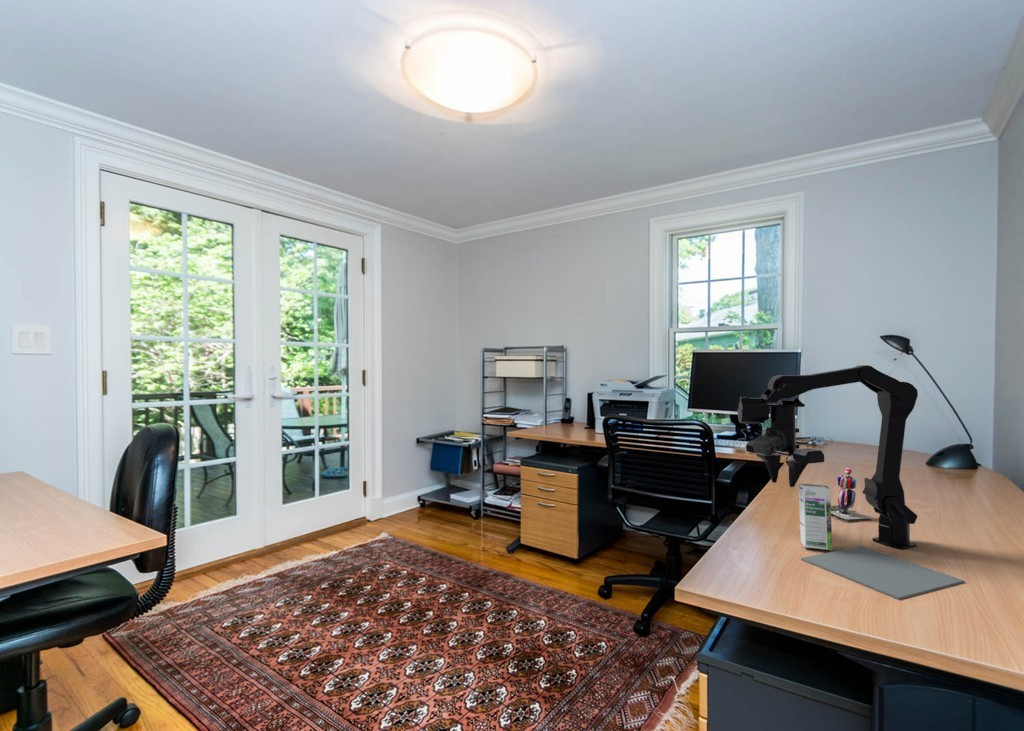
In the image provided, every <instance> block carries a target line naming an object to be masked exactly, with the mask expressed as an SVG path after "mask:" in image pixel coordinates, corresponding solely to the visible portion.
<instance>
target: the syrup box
mask: <svg viewBox="0 0 1024 731" xmlns="http://www.w3.org/2000/svg"><path fill="white" fill-rule="evenodd" d="M798 496H799V497H798V500H799V501H798V502H799V503H798V504H799V526H800V527H799V529H800V535H799V536H800V542H801V544H802V546H803V547H804V548H806V549H809V548H810V549H817V550H826V551H833V532H832V528H833V527H832V514H831V506H832V505H831V504H832V503H831V502H832V500H831V499H832V498H831V488H830V487H829V486H828V485H825V484H813V483H812V484H810V483H799V484H798Z"/></svg>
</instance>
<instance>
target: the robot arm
mask: <svg viewBox="0 0 1024 731" xmlns="http://www.w3.org/2000/svg"><path fill="white" fill-rule="evenodd" d="M855 383H861V384H863V386H865V387H866V388H868V389H869V390H870V391H872V392H873V393H875V394H876V397H877V405H878V408H879V412H880V414H881V424H880V432H879V433H880V434H879V441H878V449H877V450H878V451H877V458H876V466H875V473H874V474H873V476H872V477H871V478H868V477H865V478H864V488H863V491H862V492H861V493H862V494H864V496H865V501H867V503H868V504H869V506H872V507H873V510H874V512H875V513H876V514H879V516H878V528H877V529H878V537H872V541H874V542H877V543H880V544H883V545H886V546H888V547H892V548H896V549H899V550H901V549H902V550H903V549H907V548H912V547H917V546H918V543H917V542H914V541H911V533H910V532H911V530H910V529H911V528H910V527H911V526H910V525H914V524H916V522H917V519H918V515H917V514H916V513H915V512H914V511H913V510H912V509H911V508H909V507H908V505H906V499H905V489H904V488H903V485H902V484H903V483H902V481H901V479H900V476H901V474H900V473H901V467H902V458H903V457H902V456H903V449H904V442H905V440H904V439H905V431H906V423H907V419H908V418H909V416H910V414H911V413H912V412H913V410H914V409H915V406H916V402H917V400H918V396H919V394H918V392H919V391H918V388H916V387H915V386H914V384H912V383H910V382H907V381H900V380H898V379H897V378H895V377H892V376H890V375H888V374H887V373H884V372H882V371H880V370H878V369H876V368H874V367H873V366H872V365H865V364H863V365H856V366H853V367H849V368H848V367H847V368H841V369H836V370H829V371H823V372H817V373H812V374H811V373H810V374H798V375H797V374H787V375H786V374H783V375H782V374H781V375H779V374H778V375H774V376H772V377H771V378H770V379H769V380H768V383H767V388H766V389H765V390H764V392H763V393H762V394H761V395H760V397H747V396H746V397H745V396H740V397H739V403H738V408H737V419H738V423H739V424H764V423H765V422H766V421H768V420H769V426H768V427H766V429H765V432H764V433H765V434H762V435H759V436H758V437H756V438H754V439H753V440H748V441H747V443H746V445H745V446H746V447H745V451H746V452H748V453H752V454H755V455H756V457H758V458H759V459H761V460H762V461H763V462H764V464H765V465H764V466H765V467H766V470H767V472H768V474H769V477H770V479H771V482H772V483H773V484H776V483H777V481H778V477H779V470H780V465H781V458H782V455H783V456H787V457H790V459H789V460H784V462H785V463H786V465H787V467H788V482H789V487H790V488H794V487H795V486H796V484H797V483H798V480H799V479H800V477H801V475H802V474H803V472H804V470H806V467H807V466H808V465H809V464H817V463H818V464H819V463H825V453H824V452H823V451H822V450H820V449H815V448H806V447H805V448H800V444H798V443H796V442H797V441H796V439H797V438H796V433H797V434H798V433H800V428H797V426H796V408H804V407H806V404H804V403H803V402H802V401H801V400H800V399H799V398H798V397H796V396H799V395H800V396H801V395H802V394H805V393H808V392H809V391H813V390H817V389H823V388H831V387H835V386H842V385H849V384H855Z"/></svg>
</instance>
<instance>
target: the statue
mask: <svg viewBox="0 0 1024 731" xmlns="http://www.w3.org/2000/svg"><path fill="white" fill-rule="evenodd" d="M844 473H845V474H846V475H839V476H837V485H838V487H840V488H841V489H839V495H838V498H837V505H831V518H832V517H833V519H836V520H839V521H840V522H846V523H850V522H851V521H853V520H854V521H857V522H863V520H867V521H868V520H869V521H873V517H872V516H870V515H866V514H863V513H861V512H858V511H857V510H854V509H850V508H853V507H854V504H855V502H856V495H857V494H856V492H855V491H854V489H856V486H857V478H853V477H852V476H850V475H851V474H852V468H851V467H845V468H844ZM846 490H847V491H846ZM832 515H834V516H832Z"/></svg>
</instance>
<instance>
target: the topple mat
mask: <svg viewBox="0 0 1024 731" xmlns="http://www.w3.org/2000/svg"><path fill="white" fill-rule="evenodd" d="M800 559H801V561H803V562H806V563H808V564H810V565H813V566H816V567H819V568H820V569H822V570H825V571H828V572H830V573H832V574H834V575H837V576H839V577H842V578H844V579H847V580H850V581H852V582H855V583H857V584H859V585H861V586H864V587H867V588H869V589H870V590H875V591H877V592H879V593H882V594H884V595H886V596H889V597H891V598H894V599H895V600H903V599H906V598H910V597H914V596H917V595H921V594H925V593H928V592H929V593H930V592H934V591H937V590H940V589H944V588H948V587H952V586H955V585H959V584H964V583H965V579H961V578H958V577H956V576H952V575H950V574H946V573H944V572H940V571H938V570H935V569H931V568H929V567H926V566H923V565H921V564H917V563H914V562H911V561H908V560H905V559H902V558H899V557H897V556H893V555H890V554H888V553H884V552H881V551H878V550H876V549H873V548H871V547H870V548H869V547H866V546H864V545H860V546H855V547H851V548H844V549H840V550H835V551H834V550H833V551H830V552H829V551H828V552H826V553H825V552H824V553H819V554H814V555H809V556H804V557H800Z"/></svg>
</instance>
